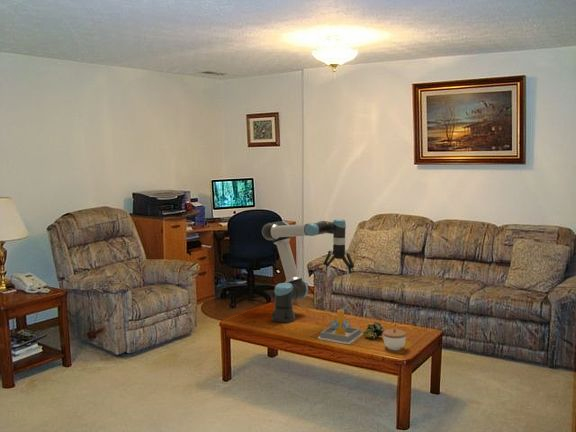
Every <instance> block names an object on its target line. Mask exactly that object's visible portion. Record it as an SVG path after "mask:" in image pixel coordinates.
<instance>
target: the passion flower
mask: <svg viewBox="0 0 576 432" xmlns="http://www.w3.org/2000/svg"><path fill="white" fill-rule="evenodd" d="M384 330H385V329H384V327H383V326H382V324H381V323H380V322H377V321H376V322H373V323H371V324H369V323H368V324H367V327H366V329H365V330H364V332H363V335H362V336H363V337H367V336H369V338H372V337H373V338H372V340H374V339H375V338H376V337H383V331H384Z"/></svg>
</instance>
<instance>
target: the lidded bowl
mask: <svg viewBox="0 0 576 432" xmlns="http://www.w3.org/2000/svg"><path fill="white" fill-rule="evenodd" d="M406 337H407V333H406V332H405V331H404V330H402V329H397V328H390V329H384V331H383V333H382V339H383V344H384V345H385V347H386V348H387V349H388V350H391V351H400V350H401V349H402V348H403V347H404V346H405V343H406V339H407V338H406Z"/></svg>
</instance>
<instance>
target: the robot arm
mask: <svg viewBox="0 0 576 432" xmlns="http://www.w3.org/2000/svg"><path fill="white" fill-rule="evenodd" d="M346 228H347V226H346V220H345V219H344V218H343V219H342V218H335V219H333V221H326V220H319V221H317V222H311V223H300V224H298V223H297V224H289V223H288V222H286V221H273V222H268V223H265V224H264V225H263V226H262V229H261V234H262V237H263V238H264V239H265V240H267V241H272V243H273V244H274V245H276V248H277V251H278V254H279V258H280V262H281V265H282V268H283V271H284V276H285V279H286V280H285V282H280V283H277V284H276V285H275V286H274V309H273V311H272V314H271V321H272V322H275V323H281V324H286V323H287V324H288V323H292V322H295V321H296V316H295V311H294V309H293V303H294V302H295V301H299V300H302V299H304V298H305V297H307V294H308V292H309V286H308V285H307V283H306V281H304V280H303V278H302V277H301V276H300V275H299V272H298V269H297V266H296V261H295V258H294V254H293V251H292V249H291V245H290V241H291V237H293V238H294V237H305V236H306V237H307V236H309V237H315V236H317V235H323V234H330V235H333V236H332V237H333V240H332V243H333V245H332V250H331V249H330V250H329V251H328V252H327V256H326V257H325V259H324V261H323V264H322V265H323V266H324V265H325V271H326V277H330V276H331V265H330V264H331V263H333V261H334V260H335V259H337V260H342V261H343V262H344V264H345V265H346V267H347V269H346V279H347V280H350V278H351V273H352V269H353V268H355V263H354V262H353V259H352V257H351V255H350V254H351V253H350V252H349V251H348V252H346ZM332 255H333V256H332Z"/></svg>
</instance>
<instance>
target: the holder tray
mask: <svg viewBox="0 0 576 432" xmlns="http://www.w3.org/2000/svg"><path fill="white" fill-rule="evenodd" d="M331 325H332V326H333V327H334V325H335V323H334V324H333V323H332V324H331ZM346 327H348V326H347V325H346ZM363 334H364V332H363V333H362V331H361V328H358V327H352V326H350V328H346V330H345V335H339V334H335V328H332V327H331V326H330V325H329V327H327V328H325V329H323V330H321V331H320V333H319V336H318V337H317V340H322V341H328V342H333V343H338V344H343V345H351V344H353V343H354V342H355V341H356V340H358V339H360V337H362V336H363Z"/></svg>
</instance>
